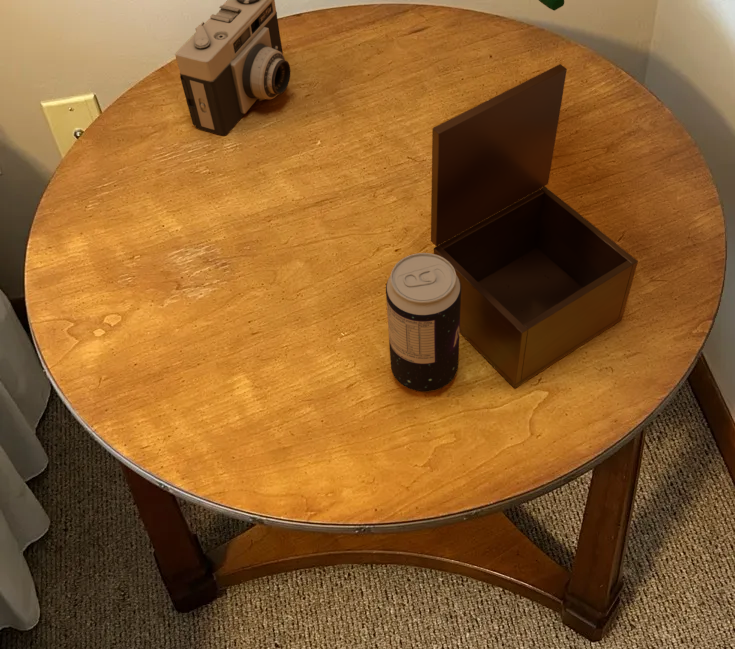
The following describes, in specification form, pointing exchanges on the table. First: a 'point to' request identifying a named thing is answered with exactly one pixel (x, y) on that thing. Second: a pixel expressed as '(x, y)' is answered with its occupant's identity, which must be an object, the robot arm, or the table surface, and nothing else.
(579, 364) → the table surface
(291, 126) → the table surface
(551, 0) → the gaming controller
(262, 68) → the camera
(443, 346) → the beverage can
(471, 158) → the lid
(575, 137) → the table surface
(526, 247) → the chest
